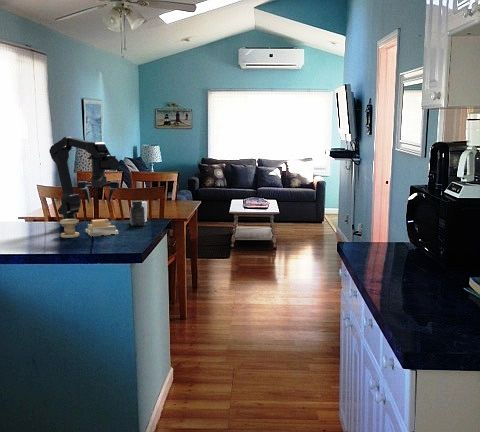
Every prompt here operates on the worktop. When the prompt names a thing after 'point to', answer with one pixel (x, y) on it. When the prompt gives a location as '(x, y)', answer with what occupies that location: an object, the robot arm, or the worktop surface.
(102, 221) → the tan rectangular block
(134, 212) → the supplement bottle
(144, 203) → the white cup
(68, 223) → the bobbin
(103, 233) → the notched board
